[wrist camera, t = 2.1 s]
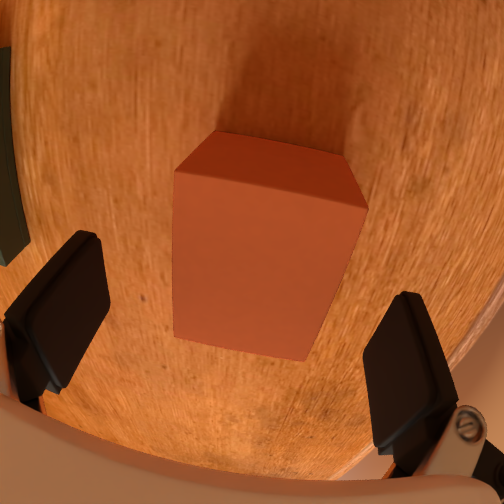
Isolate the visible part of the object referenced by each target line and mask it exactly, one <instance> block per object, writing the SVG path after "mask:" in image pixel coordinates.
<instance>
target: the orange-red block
mask: <svg viewBox="0 0 504 504" xmlns="http://www.w3.org/2000/svg"><path fill="white" fill-rule="evenodd" d="M368 210H369V208H368V205H367V203H366V201H365V199H364V197H363V194H362V192H361V190H360V188H359V186H358V184H357V182H356V180H355V178H354V176H353V174H352V172H351V170H350V168H349V166H348V164H347V162H346V160H345V158H344V156H341V155H337V154H333V153H329V152H325V151H321V150H316V149H312V148H307V147H303V146H298V145H293V144H289V143H284V142H279V141H273V140H268V139H263V138H257V137H251V136H245V135H239V134H233V133H226V132H220V131H214V132H213V133H212V134H210V135H209V136H208V137H207V138H206V139H205V140H204V141H203V142H202V143H201V144H200V145H199V146H198V147H197V148H196V149H195V150H194V151H193V152H192V153H191V154H190V155H189V156H188V157H187V158H186V159H185V160H184V161H183V162H182V163H181V164H180V165H179V166H178V167H177V168H176V170H175V171H174V192H173V224H172V299H173V330H174V337H176V338H180V339H184V340H188V341H193V342H197V343H202V344H206V345H211V346H216V347H220V348H225V349H230V350H235V351H241V352H246V353H251V354H257V355H263V356H269V357H275V358H281V359H287V360H294V361H300V362H305V360H306V358H307V356H308V354H309V352H310V350H311V348H312V346H313V344H314V341H315V339H316V337H317V335H318V333H319V331H320V328H321V326H322V324H323V322H324V320H325V317H326V315H327V313H328V311H329V308H330V306H331V304H332V301H333V299H334V297H335V294H336V292H337V290H338V287H339V285H340V283H341V280H342V278H343V275H344V273H345V270H346V268H347V265H348V263H349V260H350V258H351V255H352V253H353V250H354V248H355V245H356V242H357V240H358V237H359V234H360V232H361V229H362V226H363V224H364V221H365V218H366V215H367V213H368Z"/></svg>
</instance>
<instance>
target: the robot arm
mask: <svg viewBox="0 0 504 504" xmlns="http://www.w3.org/2000/svg"><path fill="white" fill-rule="evenodd" d="M110 303H111V302H110V296H109V290H108V284H107V278H106V272H105V266H104V259H103V252H102V244H101V240H100V239H99V238H97V235H96V234H95V233H93V232H88V231H83V230H78V231H77V232H76V233H75V234H74V235H73V236H72V237H71V238H70V239H69V240H68V241H67V242H66V243H65V244H64V245H63V246H62V247H61V248H60V249H59V250H58V251H57V252H56V254H55V255H54V256H53V257H52V258H51V259H50V260H49V261H48V262H47V263H46V264H45V266H44V267H43V268H42V269H41V270H40V271H39V272H38V273H37V275H36V276H35V277H34V278H33V279H32V280H31V282H30V283H29V284H28V285H27V286H26V287H25V289H24V290H23V291H22V292H21V293H20V295H19V296H18V297H17V298H16V300H15V301H14V302H13V303H12V305H11V306H10V307H9V308H8V310H7V311H6V312H5V313H4V315H5V317H6V318H5V319H4V321H3V322H2V321H1V319H0V504H504V454H503V453H502V452H501V451H500V450H498V449H497V448H496V447H495V446H494V445H493V444H491V443H490V442H489V441H488V440H486V436H487V424H486V422H485V419H484V417H483V416H482V414H481V413H480V412H479V411H478V410H477V409H476V408H474V407H472V406H469V405H462V406H460V407H458V408H457V404H456V402H457V401H458V400H459V399H458V395H457V392H456V389H455V386H454V382H453V380H452V377H451V373H450V370H449V367H448V364H447V361H446V358H445V356H444V353H443V350H442V347H441V344H440V342H439V339H438V336H437V334H436V331H435V329H434V326H433V323H432V321H431V318H430V316H429V314H428V311H427V309H426V306H425V304H424V302H423V299H422V297H421V295H420V294H418V293H413V292H407V291H403V292H401V293H400V295H396V296H395V297H394V299H393V301H392V303H391V304H390V306H389V308H388V310H387V312H386V313H385V315H384V317H383V319H382V320H381V322H380V324H379V326H378V327H377V329H376V331H375V332H374V334H373V336H372V337H371V339H370V341H369V342H368V344H367V346H366V347H365V349H364V352H363V364H364V371H365V377H366V384H367V391H368V399H369V407H370V415H371V424H372V433H373V442H374V446H375V447H378V454H379V455H393V458H394V462H393V464H392V465H391V466H390V468H389V469H388V471H387V472H386V474H385V475H384V476H383V478H382V479H377V480H351V481H350V480H349V481H322V480H297V479H282V478H271V477H262V476H253V475H245V474H238V473H232V472H225V471H219V470H214V469H209V468H203V467H199V466H194V465H189V464H185V463H181V462H176V461H172V460H168V459H165V458H161V457H157V456H153V455H150V454H147V453H143V452H140V451H136V450H133V449H130V448H127V447H124V446H121V445H118V444H115V443H112V442H109V441H107V440H104V439H101V438H98V437H96V436H93V435H91V434H88V433H86V432H83V431H81V430H78V429H76V428H73V427H71V426H69V425H67V424H64V423H62V422H60V421H57V420H55V419H53V418H51V417H49V416H47V413H46V409H45V405H44V400H43V396H42V394H43V392H44V390H45V389H47V390H49V391H51V392H53V393H56V394H58V395H59V393H60V391H61V389H62V388H66V387H67V386H68V384H69V382H70V380H71V378H72V376H73V374H74V372H75V370H76V369H77V367H78V365H79V363H80V361H81V359H82V357H83V355H84V354H85V352H86V350H87V348H88V346H89V344H90V343H91V341H92V339H93V337H94V336H95V334H96V332H97V330H98V328H99V327H100V325H101V323H102V321H103V320H104V318H105V316H106V315H107V313H108V311H109V309H110Z"/></svg>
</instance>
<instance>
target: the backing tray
mask: <svg viewBox="0 0 504 504" xmlns="http://www.w3.org/2000/svg"><path fill="white" fill-rule="evenodd" d="M10 49H11V47H10V46H9V47H3V48H0V265H2V266H5V267H6V266H7V265H8V264H9V263H10V262H11V261H12V260H13V259H14V258H15V257H16V256H17V255H18V254H19V253H20V252H21V251H22V250H23V249H24V248H25V247H26V246H27V245H28V244H29V243H30V238H29V234H28V230H27V226H26V222H25V217H24V213H23V208H22V203H21V198H20V192H19V187H18V181H17V174H16V168H15V160H14V152H13V143H12V132H11V118H10V90H9V77H10Z"/></svg>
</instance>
